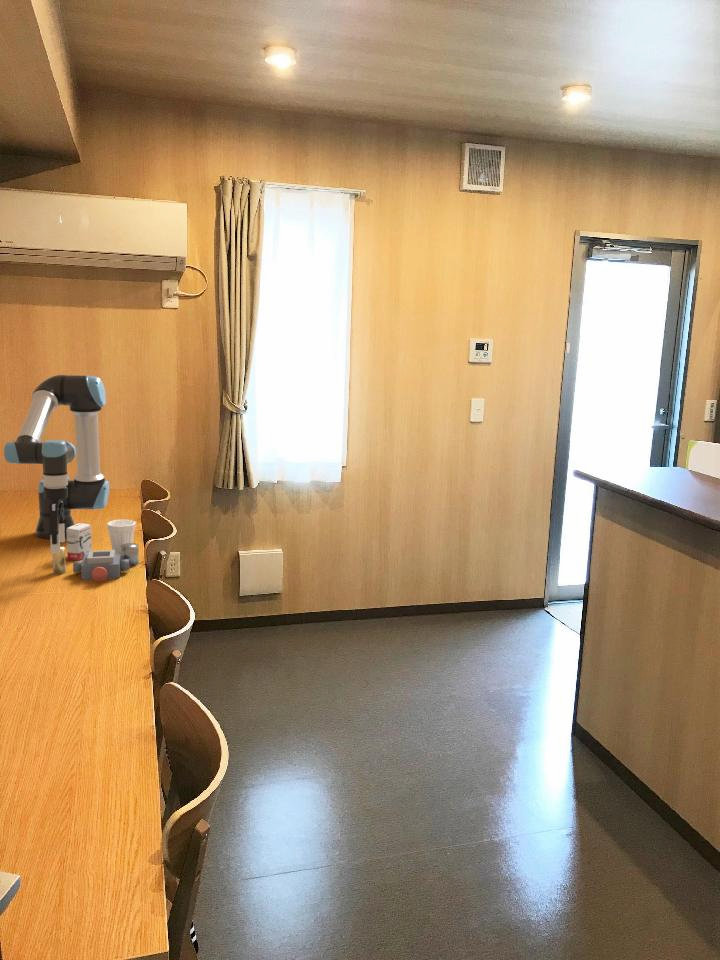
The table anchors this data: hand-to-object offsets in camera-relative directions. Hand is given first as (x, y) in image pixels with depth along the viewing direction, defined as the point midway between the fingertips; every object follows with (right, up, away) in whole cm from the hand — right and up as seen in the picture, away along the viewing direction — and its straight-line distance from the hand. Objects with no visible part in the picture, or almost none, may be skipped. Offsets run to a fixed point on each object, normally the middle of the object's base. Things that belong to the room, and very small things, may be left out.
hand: (58, 547), depth 242 cm
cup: (+15, -6, +22) cm, 27 cm away
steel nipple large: (+20, -7, +14) cm, 26 cm away
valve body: (+14, -10, +1) cm, 17 cm away
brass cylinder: (0, -9, +2) cm, 9 cm away
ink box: (0, -6, +20) cm, 20 cm away
